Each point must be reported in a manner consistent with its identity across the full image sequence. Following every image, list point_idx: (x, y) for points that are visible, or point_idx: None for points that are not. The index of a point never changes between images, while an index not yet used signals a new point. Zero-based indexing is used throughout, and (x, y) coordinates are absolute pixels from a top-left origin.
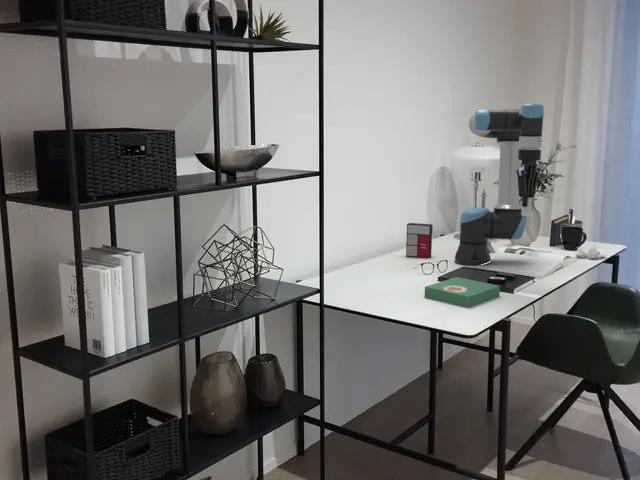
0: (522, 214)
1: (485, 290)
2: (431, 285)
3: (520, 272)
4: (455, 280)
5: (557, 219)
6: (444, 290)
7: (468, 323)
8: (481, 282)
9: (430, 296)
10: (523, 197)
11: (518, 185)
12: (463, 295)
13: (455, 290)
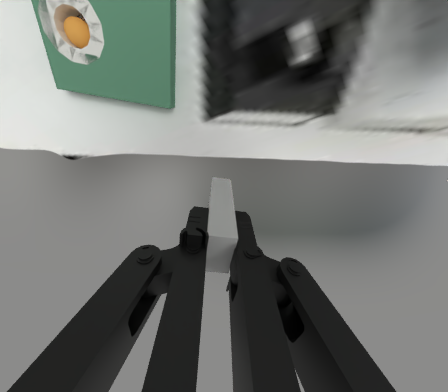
0: (211, 184)
1: (120, 98)
2: None
3: (370, 72)
4: None
5: None
6: (39, 9)
7: (13, 125)
8: (167, 61)
9: None
10: (177, 252)
11: (29, 370)
12: (53, 74)
13: (69, 34)
